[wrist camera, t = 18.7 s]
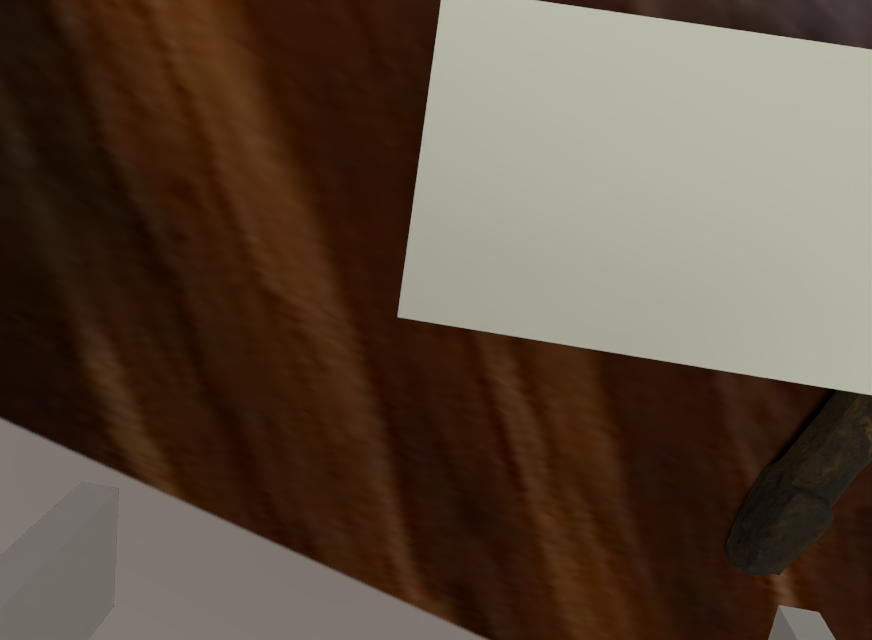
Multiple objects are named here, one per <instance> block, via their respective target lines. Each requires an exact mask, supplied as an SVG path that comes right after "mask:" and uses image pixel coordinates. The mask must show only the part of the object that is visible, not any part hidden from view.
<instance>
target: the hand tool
mask: <svg viewBox="0 0 872 640" xmlns="http://www.w3.org/2000/svg"><path fill="white" fill-rule="evenodd" d="M871 460H872V395H867V394H861V393H855V392H849V391H843V390H837V391H836V392H835V393H834V395H833V396H832V397H831V398H830V399H829V400H828V401H827V402H826V404H825V405H824V407H823V409H822V410H821V411H820V413H819V414H818V415H817V416H816V417H815V419H814V420H813V421H812V422H811V423H810V425H809V426H808V427H807V428H806V430H805V431H804V432H803V433H802V434H801V435H800V437H799V438H798V439H797V440H796V441H795V443H794V444H793V445H792V446H791V447H790V449H789V450H788V451H787V453H786V454H785V455H784V456H783V458H781V459H780V460H778V461H777V462H774V463H771V464H768V465H767V466H766V467H765V469H764V470H763V471H762V473H761V474H760V476H759V477H758V478H757V480H756V482H755V483H754V485H753V487H752V488H751V490H750V492H749V494H748V496H747V498H746V500H745V502H744V504H743V506H742V508H741V510H740V512H739V514H738V516H737V518H736V520H735V523H734V525H733V528H732V531H731V533H730V536H729V538H728V540H727V543H726V554H727V557H728V559H729V561H730V563H731V565H732V566H733V567H734V568H735V569H736V570H738V571H743V572H745V573H746V574H748V575H763V574H777V575H780V574H781V572H782V571H783V570H784V569H785V568H787V567H788V566H789V565H790V564H791V563H792V562H793V561H794V560H795V559H796V558H797V557H798V556H799V554H800V553H802V552H803V551H804V550H805V549H806V548H808V547H809V546H810V545H811V544H812V543H814V542H815V541H816V540H817V539H818V538H820V537H821V536H822V535H823V533H824V532H825V531H826V530H827V529H828V527H829V526H830V524H831V523H832V521H833V513H832V506H833V505H834V504H835V503H836V502H837V501H838V500H839V498H840V497H841V496H842V495H843V492H844V491H845V490H846V488H847V487H848V486H849V484H850V483H851V482H852V481H853V480H854V478H855V477H856V476H857V474H858V473H859V472H860V470H862V469H863V468H864V467H865V466H867V465H868V464H869V463H870V461H871Z"/></svg>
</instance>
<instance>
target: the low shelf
mask: <svg viewBox="0 0 872 640" xmlns="http://www.w3.org/2000/svg"><path fill="white" fill-rule="evenodd" d="M397 317H400V318H406V319H412V320H418V321H424V322H430V323H436V324H442V325H449V326H455V327H461V328H467V329H473V330H479V331H485V332H491V333H497V334H503V335H509V336H515V337H521V338H527V339H533V340H540V341H546V342H552V343H558V344H564V345H570V346H576V347H582V348H588V349H594V350H600V351H606V352H612V353H618V354H624V355H631V356H637V357H643V358H649V359H655V360H661V361H667V362H673V363H679V364H685V365H691V366H697V367H703V368H709V369H715V370H722V371H728V372H734V373H740V374H746V375H752V376H758V377H764V378H770V379H776V380H782V381H788V382H794V383H800V384H806V385H813V386H819V387H825V388H831V389H837V390H843V391H849V392H855V393H861V394H867V395H872V50H870V49H864V48H857V47H850V46H843V45H836V44H830V43H823V42H816V41H809V40H802V39H795V38H789V37H782V36H775V35H768V34H761V33H755V32H748V31H741V30H734V29H727V28H720V27H714V26H707V25H700V24H693V23H686V22H680V21H673V20H666V19H659V18H652V17H645V16H639V15H632V14H625V13H618V12H611V11H605V10H598V9H591V8H584V7H577V6H571V5H564V4H557V3H550V2H543V1H536V0H441V5H440V12H439V20H438V27H437V34H436V41H435V48H434V56H433V63H432V70H431V77H430V85H429V92H428V99H427V106H426V114H425V121H424V128H423V135H422V143H421V150H420V157H419V164H418V171H417V179H416V186H415V193H414V200H413V208H412V215H411V222H410V229H409V237H408V244H407V251H406V258H405V265H404V273H403V280H402V287H401V294H400V302H399V309H398V316H397Z"/></svg>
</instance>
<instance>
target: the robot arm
mask: <svg viewBox="0 0 872 640" xmlns="http://www.w3.org/2000/svg"><path fill="white" fill-rule="evenodd" d="M118 495H119V489H118V488H113V487H107V486H102V485H96V484H91V483H85V482H81V483H80V484H79V485H78V486H77V487H75V488H74V489H73V490H72V491H71V492H70V493H69V494H68V495H67V496H66V497H64V498H63V499H62V500H61V501H60V502H59V503H58V504H57V505H56V506H54V507H53V508H52V509H51V510H50V511H49V512H48V513H47V514H46V515H44V516H43V517H42V518H41V519H40V520H39V521H38V522H37V523H36V524H35V525H33V526H32V527H31V528H30V529H29V530H28V531H27V532H26V533H25V534H23V535H22V536H21V537H20V538H19V539H18V540H17V541H16V542H15V543H14V544H12V545H11V546H10V547H9V548H8V549H7V550H6V551H5V552H4V553H3V554H1V555H0V640H88V639H89V638H90V637H91V635H92V634H93V633H94V631H95V630H96V629H97V627H98V626H99V625H100V624H101V622H102V621H103V620H104V618H105V617H106V616H107V615H108V613H109V612H110V610H111V609H112V608H113V607H114V588H115V587H114V586H115V564H116V539H117V517H118ZM768 640H835V638H834V637H833V635H832V633H831V632H830V630H829V628H828V627H827V625H826V623H825V622H824V620H823V618H822V617H821V615H820V613H819V612H814V611H809V610H803V609H797V608H792V607H786V606H780V605H779V607H778V610H777V613H776V616H775V620H774V623H773V626H772V630H771V633H770V636H769V639H768Z"/></svg>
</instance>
